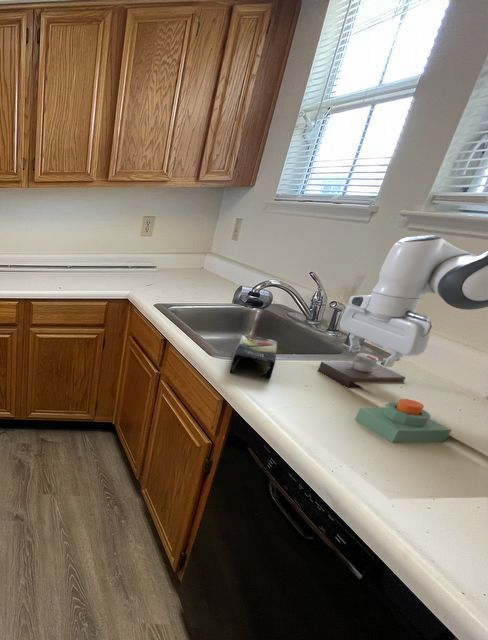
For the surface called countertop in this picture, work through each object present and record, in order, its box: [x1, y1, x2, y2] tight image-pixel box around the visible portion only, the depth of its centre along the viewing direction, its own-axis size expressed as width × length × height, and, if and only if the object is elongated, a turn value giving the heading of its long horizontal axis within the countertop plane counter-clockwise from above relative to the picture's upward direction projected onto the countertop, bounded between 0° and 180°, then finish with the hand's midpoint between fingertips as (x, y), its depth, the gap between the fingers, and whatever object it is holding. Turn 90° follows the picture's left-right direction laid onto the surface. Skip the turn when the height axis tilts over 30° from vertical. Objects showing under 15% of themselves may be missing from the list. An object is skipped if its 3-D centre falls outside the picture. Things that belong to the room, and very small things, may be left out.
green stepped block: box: [354, 401, 452, 444], centre depth 86 cm, size 11×9×5 cm
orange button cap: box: [396, 398, 425, 415], centre depth 85 cm, size 4×4×2 cm
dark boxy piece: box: [229, 334, 278, 381], centre depth 116 cm, size 20×10×6 cm, turn 147°
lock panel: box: [317, 360, 406, 389], centre depth 109 cm, size 14×10×3 cm
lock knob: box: [351, 352, 379, 372], centre depth 107 cm, size 4×4×4 cm
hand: (369, 358), depth 106 cm, fingers open, 8 cm apart
